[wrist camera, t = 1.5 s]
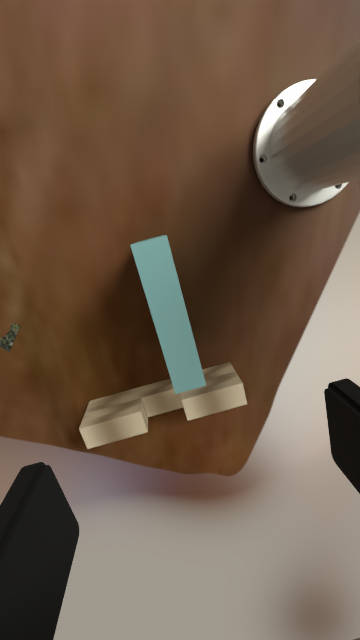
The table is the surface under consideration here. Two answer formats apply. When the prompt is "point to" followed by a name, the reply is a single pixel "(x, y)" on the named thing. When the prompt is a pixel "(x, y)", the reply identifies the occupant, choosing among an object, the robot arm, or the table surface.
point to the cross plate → (168, 312)
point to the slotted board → (159, 405)
